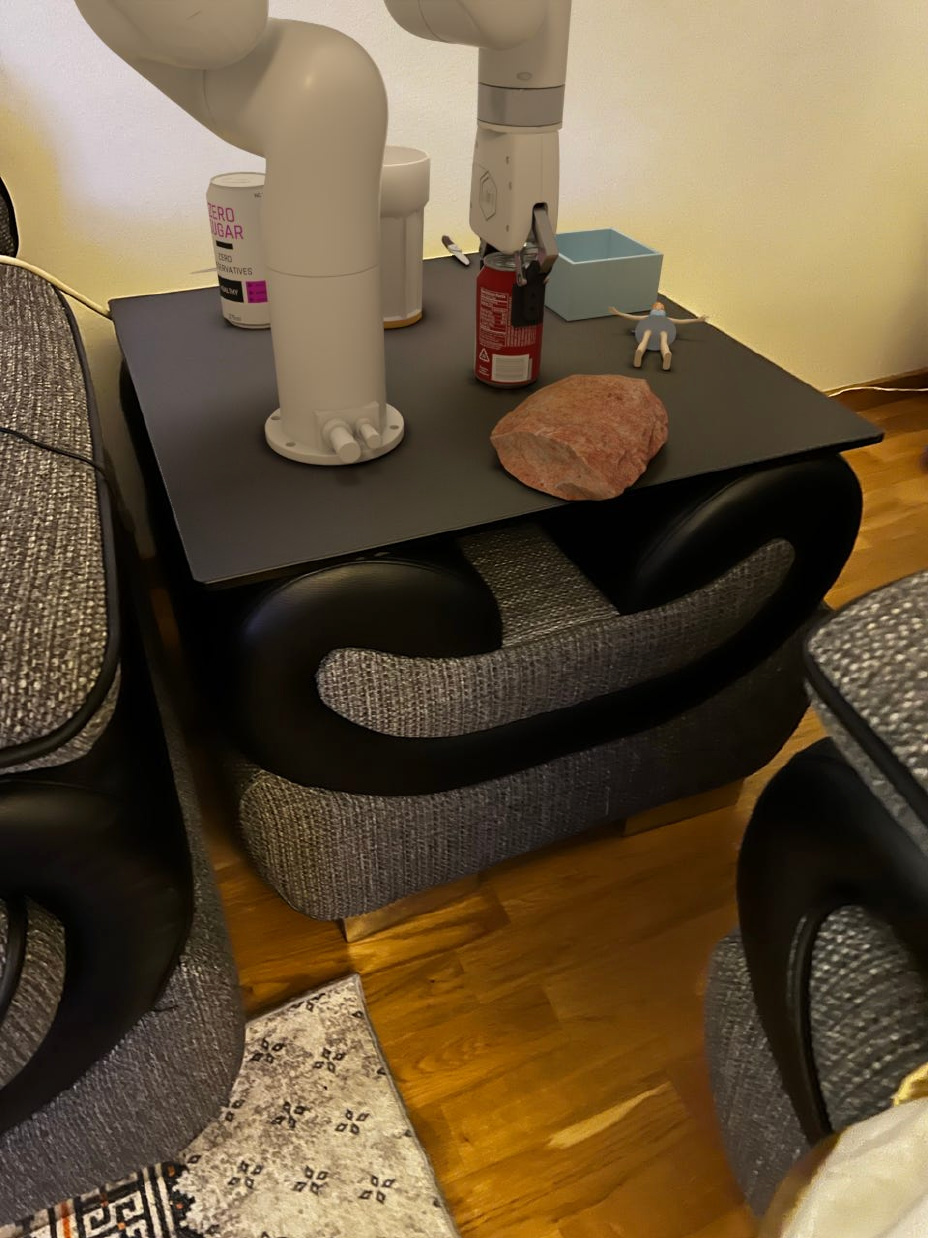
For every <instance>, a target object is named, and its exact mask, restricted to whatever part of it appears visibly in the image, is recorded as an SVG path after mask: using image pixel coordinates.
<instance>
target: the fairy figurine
mask: <svg viewBox="0 0 928 1238" xmlns="http://www.w3.org/2000/svg"><path fill="white" fill-rule="evenodd" d="M608 308H610V307H608ZM608 308H607V309H608ZM611 308H613V307H611ZM611 308H610V309H609V310H611V311H610V312H608V313H612V314H614V315H613V316H619V317H621V318H625V319H627V320H629V321H634V322H635V321H637V322H638V323H637V325H636V327H635V330H631V332H632V333H634V335H635V339H636V342H637V343H638V344H639V345H638V346H637V348H636V350H635V353H634V360H633V366H634V367H636V368H639V367H641V365H642V357H643V355H644V353H645V352H646V351H647V350H648V351H660V354H661V356H662V359H663V362H662V369H663V370H664V371H665V370H669V369H670V367H671V360H672V355H673V354H672V352H671V351H670V348H669V346H670V345H672V344H673V342H674V340H675V339H676V337H677V330H676V326H675V325H679V326H680V325H681V326H684V325H688V324H693V323H703V322H706V321H707V319H710V316H709V315H706V314H703V315H701V316H699V317H697V318H692V319H691V318H686V319H677V318H671V317H668V316H666V315H667V313H666V310H665V306H664V304H663V303H661V302H660V301H657V302H656V303H655V305H654V307H653V308H652V309H651V310H650V311H649V315H632V314H629V313H625V314H623V313H620V312H617V310H616V309H615V308H613V309H611ZM609 310H607V311H609Z"/></svg>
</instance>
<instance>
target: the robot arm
mask: <svg viewBox="0 0 928 1238" xmlns="http://www.w3.org/2000/svg"><path fill="white" fill-rule="evenodd" d="M73 2H74V3H75V6H76V8H77V9H78V12H79V13H80V15H81V17H82V18H83V20H84V21H85V22H86V24H87V25H88V27H89V28H90V29H91V30H92V32H93V33H94V34H95V35H96V36H97V38H99V39H100V40H101V41H102V43H103V44H104V45H105V46H106V47H107V48H109V50H110V51H112V52H113V53H114V54H115V55H116V56H118V57H119V58H120V59H121V60H122V61H124V63H126V64H127V65H128V66H130V67H131V68H132V69H133V70H134V71H136V72H137V73H138V74H139V75H140V76H141V77H142V78H144V79H145V80H146V81H147V82H149V83H150V84H151V85H152V86H153V87H155V88H156V89H157V90H158V91H160V92H161V93H162V94H163V95H164V96H165V97H167V98H168V99H170V100H171V101H172V102H173V103H174V104H176V105H177V106H178V107H179V108H180V109H182V110H183V111H184V112H186V114H188V115H189V116H191V117H192V118H193V119H194V120H195V121H197V122H198V123H199V124H200V125H202V126H203V127H204V128H205V129H207V130H208V131H210V132H211V133H212V134H213V135H215V136H216V137H218V138H219V139H220V140H222V141H224V143H227V144H229V145H230V146H233V147H234V148H237V149H239V150H242V151H244V152H247V153H249V154H252V155H255V156H257V157H261V158H263V159H265V172H264V173H265V180H264V187H263V192H262V198H261V206H260V239H261V249H262V258H263V263H264V272H265V281H266V290H267V298H268V307H269V316H270V325H271V327H270V332H271V342H272V350H273V359H274V367H275V376H276V383H277V384H276V387H277V394H278V402H279V403H278V404H279V408H277V409H276V410H274V411H273V412H272V413H271V414H270V415H269V417H268V418H266V421H265V423H264V432H265V433H264V435H265V440H266V443H267V444H268V445H269V447H270V448H271V449H272V451H274V452H275V453H277V454H279V455H280V456H282V457H284V458H287V459H288V460H292V461H295V462H299V463H303V464H309V465H317V466H345V465H352V464H358V463H363V462H367V461H370V460H373V459H376V458H380V457H382V456H383V455H385V454H387V453H389V452H391V451H392V450H393V449H395V448H396V447H397V446H398V445H400V443H401V442H402V440H403V438H404V436H405V420H404V417H403V415H402V414H401V412H400V411H399V410H397V409H396V408H395V406H392V405H390V403H388V402H387V390H386V389H387V387H386V386H387V385H386V357H385V356H386V355H385V353H386V352H385V329H384V325H383V297H382V269H381V244H380V193H381V179H382V169H383V162H384V155H385V148H386V144H387V142H388V135H389V133H388V132H389V123H390V121H389V120H390V111H389V107H390V106H389V98H388V97H389V96H388V92H387V87H386V83H385V80H384V78H383V75H382V73H381V71H380V69H379V66H378V65H377V63H376V61H375V60H374V58H373V57H372V56H371V55H370V53H369V52H368V50H366V48H365V47H363V45H361V44H360V43H359V42H358V41H357V40H356V39H354V38H353V37H351V36H349V35H347V34H346V33H344V32H342V31H341V30H338V29H336V28H333V27H330V26H328V25H327V26H326V25H324V24H319V23H314V22H309V21H303V20H297V19H291V18H290V19H289V18H278V17H274V16H273V17H272V16H269V12H270V1H269V0H73ZM383 3H384V6H385V8H386V10H387V12H388V13H389V16H391V18H392V19H393V20H394V21H395V22H396V24H397V25H398V26H399V27H400V28H401V29H403V30H404V31H406V32H407V33H409V34H411V35H413V36H415V37H418V38H420V39H424V40H427V41H433V42H438V43H445V44H449V45H450V44H452V45H460V46H467V47H472V48H478V51H477V52H478V56H477V57H478V58H477V92H476V93H477V95H476V126H477V127H476V132H475V138H474V139H475V140H474V146H473V154H472V155H473V156H472V165H471V166H472V168H471V176H470V177H471V178H470V179H471V181H470V193H469V210H468V211H469V212H468V213H469V215H468V217H469V218H468V224H469V227H470V229H471V231H472V232H473V233H474V235H476V236H477V237H478V238H479V241H480V242H479V247H478V256H479V258H480V260H479V272H480V271H481V269H482V268H483V266H484V257H485V256H487V255H489V254H492V253H496V252H502V253H504V254H506V255H512V254H513V256H514V263H515V271H516V278H517V283H515V284H513V285H512V305H511V325H512V326H513V327H515V328H518V327H525V326H532V325H539V324H541V323H542V322H543V323H544V320H543V314H544V315H545V307H544V301H545V287H546V284H547V283H548V281H549V274H550V272H551V271H552V267H553V264H554V263H555V261H556V259H557V258H558V256H559V250H558V246H557V243H556V240H555V237H556V233H557V230H558V229H557V228H558V218H559V205H560V204H559V203H560V134H559V131H560V130H561V129H562V128H563V124H564V122H563V121H564V111H565V110H564V109H565V97H566V83H567V70H568V59H569V58H568V57H569V44H570V30H571V18H572V5H573V0H383ZM527 242H530V243H532V244H533V245H535V246H536V247H530V248H526V247H524V246H525V245H526V243H527ZM529 256H535V257H536V260H532V261H531V262H530V264H529V265H528V267H527V268H526V266H525V258H524V257H529Z"/></svg>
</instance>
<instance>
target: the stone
mask: <svg viewBox="0 0 928 1238" xmlns="http://www.w3.org/2000/svg"><path fill="white" fill-rule="evenodd" d="M668 425H669V416H668V413H667V411H666V409H665V406H664V404H663V402H662V401H661V399H660V398H659V397H658V396H657V395H655V392H654V391H653V389H652V387H651V386H650V385H649V382H648V381H647V379H645V378H636V377H629V376H624V375H622V374H610V373H605V374H596V375H594V374H572V375H569V376H567V377H565V378H563V379H560V380H557V381H555V382H553V383H551V384H549V385H546V386H543V387H541V388H540V389H538V390H536V391H535V392H534V393H532V394H530V395H529V396H528V397H526V398H525V399H524V400H523V401H522V402H520V404H519V405H518V406H516V408H515V409H514V410H513V411H509V412H507V413H506V414H505V416H503V417H502V418H501V419H500V420H499V421H497V424H496V425H495V427H494V428H493V430H492V431H491V435H490V436H489V441H490V443H491V444H492V446H493V448H494V449H495V451H496V453H497V457H498V459H499V461H500V464H501V465H503V468H504V469H505V470H506V471H507V472H508V473H510V474H511V475H512V476H514V477H515V478H517V479H518V481H520V482H522V483H523V484H524V485H526V486H528V487H530V488H533V489H536V490H537V491H539V492H544V493H546V494H549V495H551V496H553V497H556V498H560V499H563V500H566V501H597V502H600V501H606V500H610V499H614V498H617V497H619V496H620V495H622V494H623V493H624V491H625V489H627V488H629V487H632V486H634V483H636V481H637V480H638V479H639V478H640V476H641V475H642V474H643V473H645V472H646V470H647V466H648V464H649V462H650V460H651V459H653V458H654V457H655V456H656V455H657V453H658V452H659V451H660V449H661V447H662V446H663V445H664V444H665V443H666V442H667V441H668V435H669V430H668Z"/></svg>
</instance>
